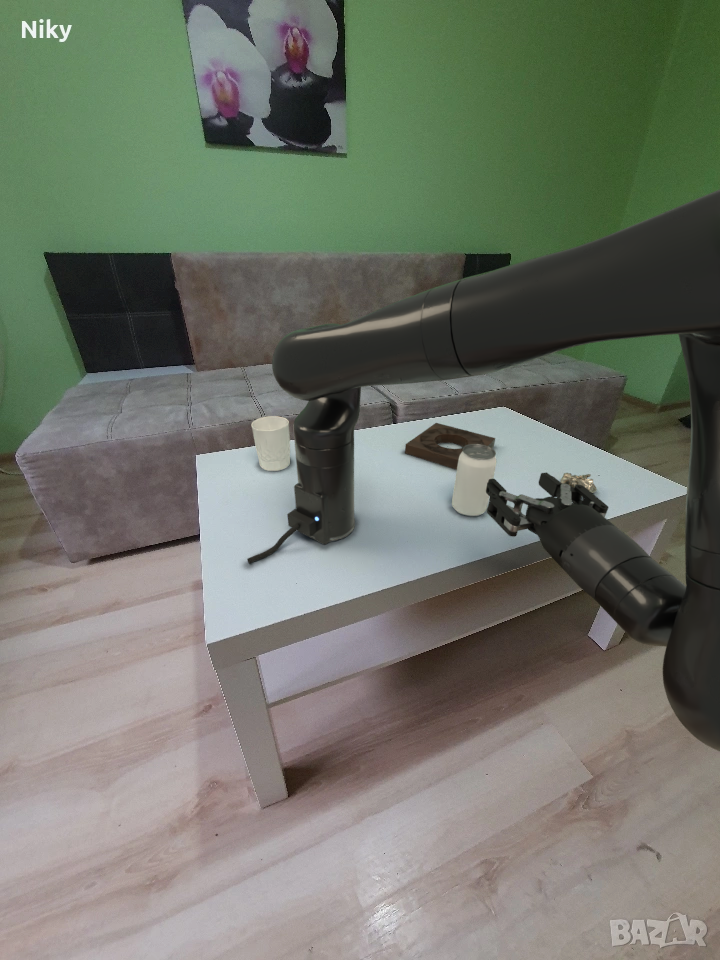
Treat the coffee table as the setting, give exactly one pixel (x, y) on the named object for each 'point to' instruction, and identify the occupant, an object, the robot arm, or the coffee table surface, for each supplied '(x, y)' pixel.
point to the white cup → (272, 442)
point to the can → (473, 479)
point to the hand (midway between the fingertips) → (515, 480)
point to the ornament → (579, 481)
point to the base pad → (439, 433)
